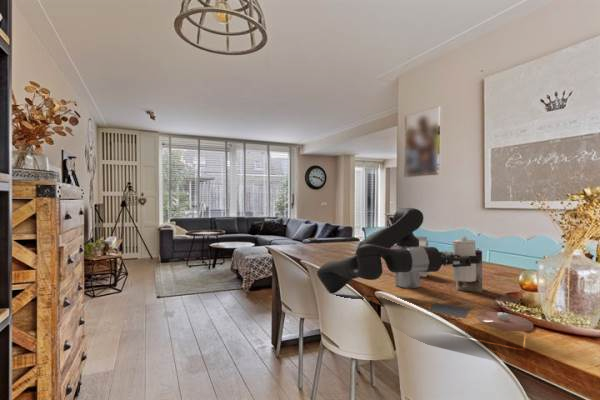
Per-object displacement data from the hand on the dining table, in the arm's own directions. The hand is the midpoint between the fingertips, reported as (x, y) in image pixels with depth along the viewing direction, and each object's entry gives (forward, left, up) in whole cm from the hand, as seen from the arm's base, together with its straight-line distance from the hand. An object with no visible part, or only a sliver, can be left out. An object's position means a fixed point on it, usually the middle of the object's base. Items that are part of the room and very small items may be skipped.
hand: (471, 257), depth 99 cm
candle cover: (-2, -2, -7) cm, 7 cm away
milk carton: (-30, +49, -18) cm, 60 cm away
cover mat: (-7, 0, -18) cm, 19 cm away
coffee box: (-6, +33, -18) cm, 38 cm away
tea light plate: (+8, -2, -18) cm, 20 cm away
